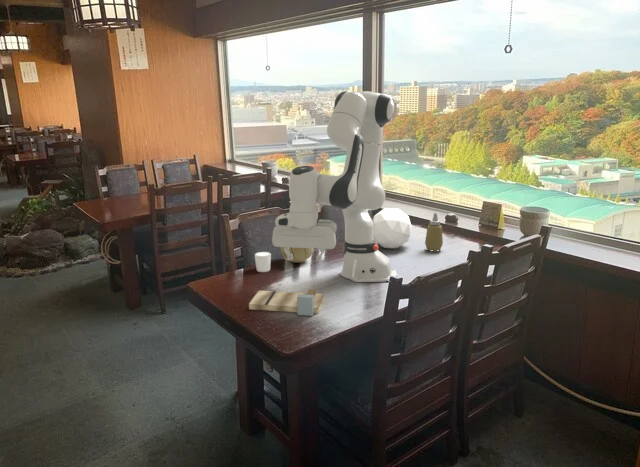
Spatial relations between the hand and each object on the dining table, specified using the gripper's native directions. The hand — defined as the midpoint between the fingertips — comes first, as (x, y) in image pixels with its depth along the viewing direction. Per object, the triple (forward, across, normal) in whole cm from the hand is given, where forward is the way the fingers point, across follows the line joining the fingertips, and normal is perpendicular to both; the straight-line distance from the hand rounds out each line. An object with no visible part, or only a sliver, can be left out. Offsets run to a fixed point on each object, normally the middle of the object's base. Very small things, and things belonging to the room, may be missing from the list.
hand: (304, 260), depth 154 cm
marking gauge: (+19, 0, -6) cm, 20 cm away
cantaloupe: (+19, +14, -53) cm, 58 cm away
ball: (+19, -26, -80) cm, 86 cm away
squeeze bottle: (+19, -46, -77) cm, 91 cm away
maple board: (+19, +8, -8) cm, 22 cm away
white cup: (+19, +26, -41) cm, 52 cm away
